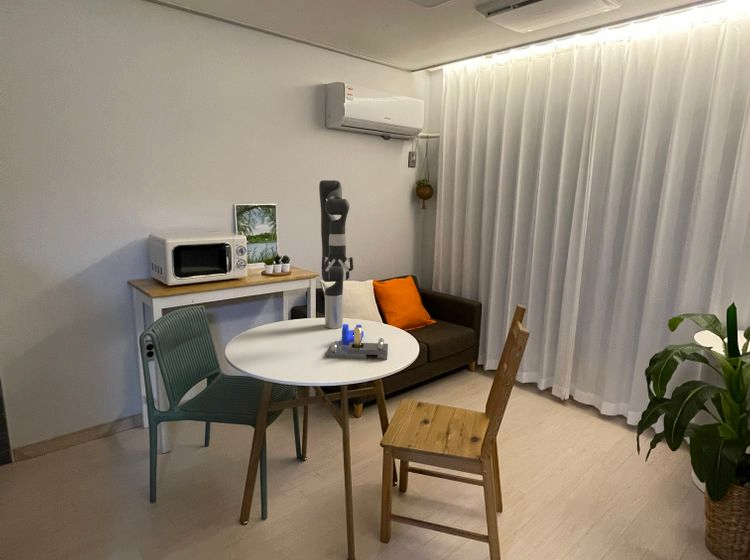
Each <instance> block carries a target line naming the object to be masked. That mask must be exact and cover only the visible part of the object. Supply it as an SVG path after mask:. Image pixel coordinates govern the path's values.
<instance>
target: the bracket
mask: <svg viewBox="0 0 750 560" xmlns="http://www.w3.org/2000/svg"><path fill="white" fill-rule="evenodd" d="M349 326H350V325H349V323H343V326H342V327H341V346H348V345H349V343H350V342H354V336H353V335H354V329H350V327H349ZM355 327H360V328H361V342H362V341H363V339H362V338H364V331H363V328H362V324H356V325H355Z"/></svg>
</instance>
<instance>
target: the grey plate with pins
mask: <svg viewBox="0 0 750 560" xmlns="http://www.w3.org/2000/svg"><path fill="white" fill-rule="evenodd" d="M377 341H378V342H376V343H375V342H361V348H354V342H350V343H349V345H339V344H340V342H339V341H338V340H334V341H333V343H332V345H329V347H328V348H327V349H326V352H325V358H331V359H332V358H334V359H335V358H336V359H360V360H361V359H363V360H366V359H367V356H368V355H375V356H377V360H382V359H383V360H384V359H385V360H388V354H389V343H385V339H384V338H379V339H378V340H377Z"/></svg>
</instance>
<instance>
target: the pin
mask: <svg viewBox="0 0 750 560" xmlns="http://www.w3.org/2000/svg"><path fill="white" fill-rule="evenodd" d="M353 330H354V348H361V343H362V341H361V328H360V327H356V326H355V327H354V328H353Z"/></svg>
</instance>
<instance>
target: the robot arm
mask: <svg viewBox="0 0 750 560" xmlns="http://www.w3.org/2000/svg"><path fill="white" fill-rule="evenodd" d="M318 185H319V186H318V189H319V192H318V193H319V201H320V203H319V204H320V236H321V279H322V280H323V283H331V282H332V283H333V282H334V284H332V285H330V286H328V287H326V288H325V289H324V327H325V328H327V329H340V328H342V327H343V324H344V323H343V321H344V319H343V317H344V315H343V314H344V312H343V309H344V308H343V307H344V305H343V304H344V303H343V299H344V298H343V294H344V273H345V280H346V281H349V279H350V272H351V271H353V270H354V258H353V256H351V257H347V246H346V245H347V237H346V224H347V217H348V214H349V211H350V203H349V201H348V200H347V199H346V198H343V192H342V191H343V190H342V183H341V182H340V181H339V180H320V181H319V184H318ZM335 216H340V217H339V218H338V219H336V217H335ZM346 261H348V263H349V267H348V265H347V264H346ZM344 270H345V272H344Z"/></svg>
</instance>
